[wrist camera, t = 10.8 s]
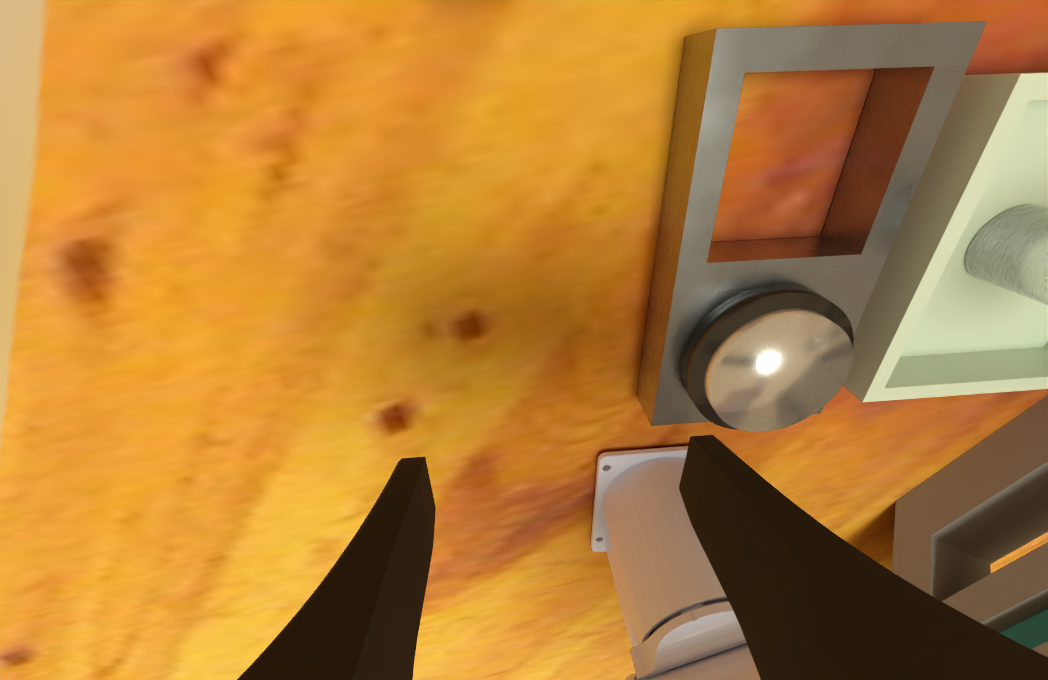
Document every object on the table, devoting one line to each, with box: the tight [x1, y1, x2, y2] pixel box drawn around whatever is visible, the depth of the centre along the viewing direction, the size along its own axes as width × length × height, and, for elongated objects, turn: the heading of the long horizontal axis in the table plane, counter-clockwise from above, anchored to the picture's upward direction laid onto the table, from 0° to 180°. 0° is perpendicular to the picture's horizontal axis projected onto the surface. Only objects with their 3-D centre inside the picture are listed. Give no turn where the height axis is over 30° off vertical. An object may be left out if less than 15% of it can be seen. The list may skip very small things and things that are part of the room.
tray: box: [842, 72, 1048, 402], centre depth 19 cm, size 14×13×3 cm
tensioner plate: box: [637, 21, 987, 432], centre depth 18 cm, size 16×9×4 cm, turn 2°
